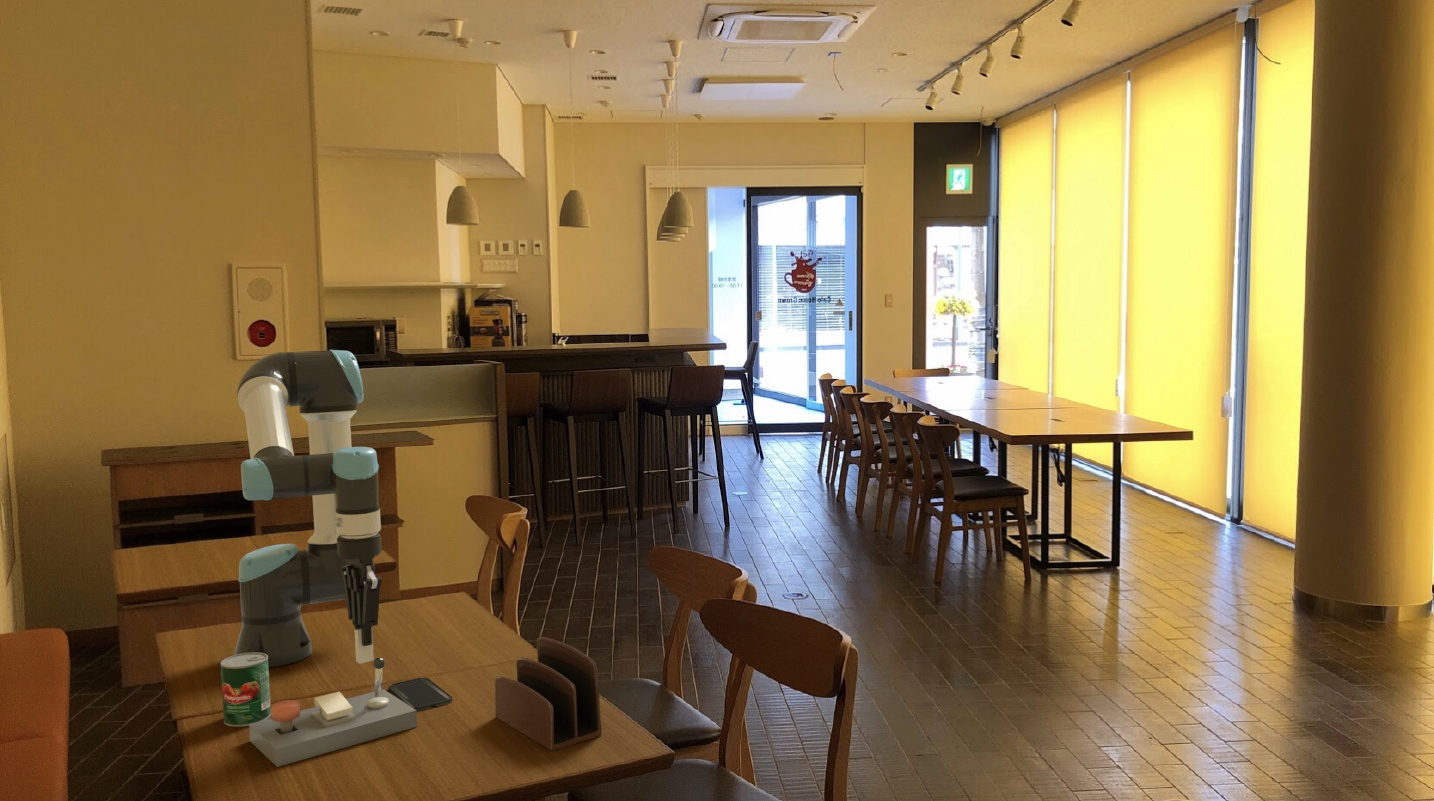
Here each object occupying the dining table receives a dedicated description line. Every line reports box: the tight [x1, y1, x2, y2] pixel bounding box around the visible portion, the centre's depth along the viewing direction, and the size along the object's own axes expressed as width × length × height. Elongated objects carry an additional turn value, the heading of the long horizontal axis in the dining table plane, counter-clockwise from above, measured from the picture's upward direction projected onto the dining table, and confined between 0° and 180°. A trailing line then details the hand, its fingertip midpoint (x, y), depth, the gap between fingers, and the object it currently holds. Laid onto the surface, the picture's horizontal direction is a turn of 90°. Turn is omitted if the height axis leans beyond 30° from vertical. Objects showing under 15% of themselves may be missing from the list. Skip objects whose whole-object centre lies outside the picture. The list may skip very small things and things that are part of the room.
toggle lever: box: [372, 657, 386, 697], centre depth 189 cm, size 2×2×7 cm
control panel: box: [248, 689, 418, 768], centre depth 185 cm, size 14×24×4 cm, turn 130°
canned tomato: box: [219, 652, 272, 728], centre depth 193 cm, size 8×8×11 cm
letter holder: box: [494, 636, 602, 752], centre depth 186 cm, size 10×20×14 cm, turn 40°
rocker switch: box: [313, 691, 353, 720], centre depth 185 cm, size 6×4×2 cm
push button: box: [270, 699, 301, 735], centre depth 180 cm, size 4×4×5 cm
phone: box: [388, 676, 453, 712], centre depth 203 cm, size 8×1×15 cm
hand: (364, 660), depth 194 cm, fingers closed
